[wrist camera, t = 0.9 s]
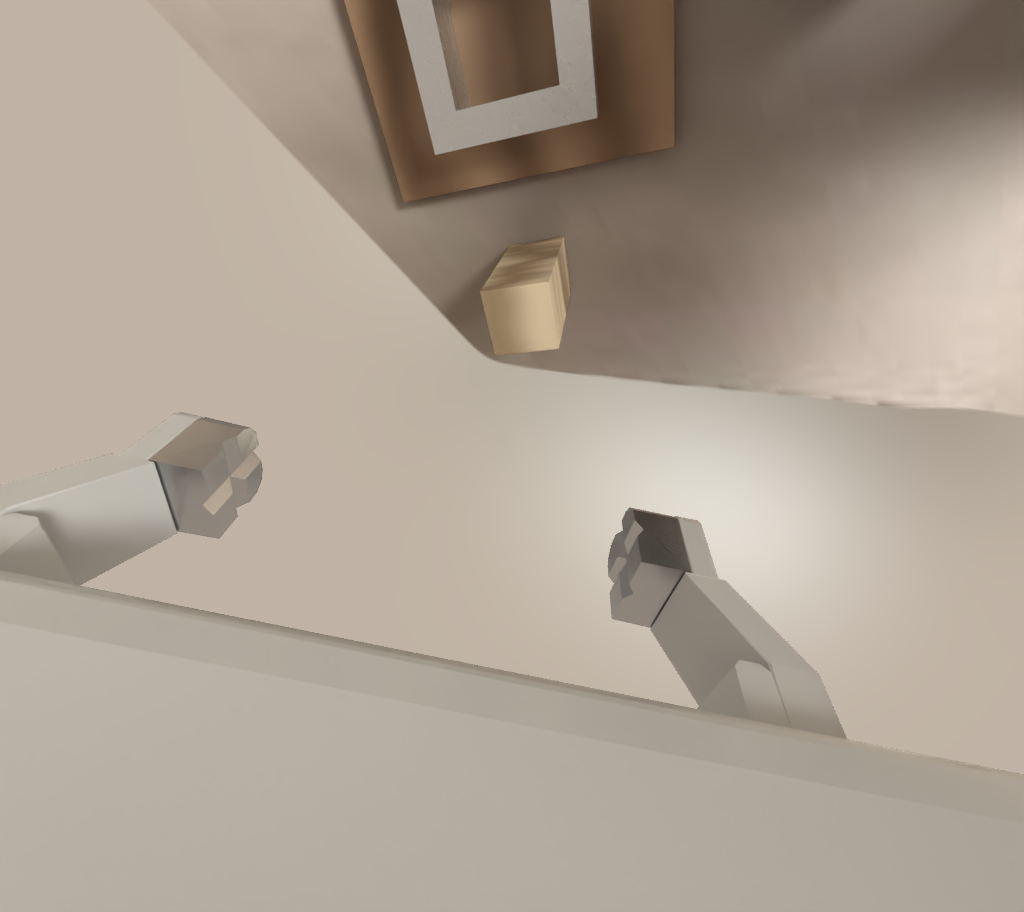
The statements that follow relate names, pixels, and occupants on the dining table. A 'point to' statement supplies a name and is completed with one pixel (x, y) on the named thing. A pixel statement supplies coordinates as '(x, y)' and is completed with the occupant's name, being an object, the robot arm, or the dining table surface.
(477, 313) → the dining table surface
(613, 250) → the dining table surface
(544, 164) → the walnut base
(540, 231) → the dining table surface
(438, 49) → the steel collar
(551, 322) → the birch pin
